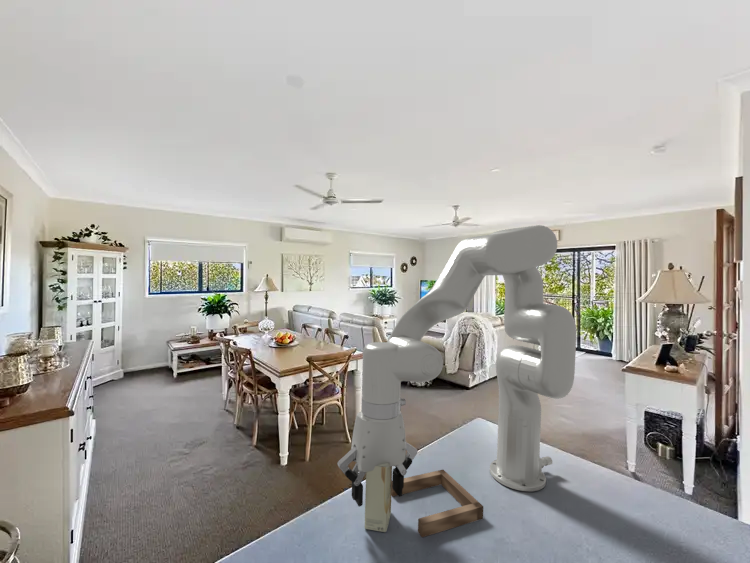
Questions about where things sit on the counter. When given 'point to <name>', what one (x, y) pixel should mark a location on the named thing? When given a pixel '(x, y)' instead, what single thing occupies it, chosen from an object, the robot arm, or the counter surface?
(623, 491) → the counter surface
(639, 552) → the counter surface
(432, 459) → the counter surface
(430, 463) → the counter surface
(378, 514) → the skincare box
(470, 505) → the open wooden u frame
